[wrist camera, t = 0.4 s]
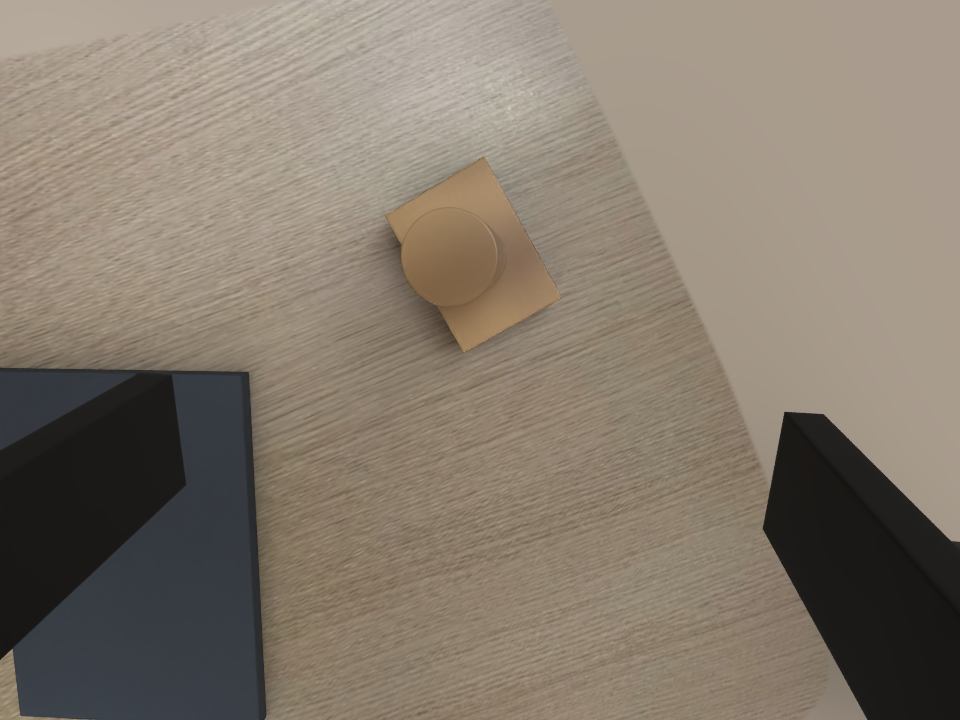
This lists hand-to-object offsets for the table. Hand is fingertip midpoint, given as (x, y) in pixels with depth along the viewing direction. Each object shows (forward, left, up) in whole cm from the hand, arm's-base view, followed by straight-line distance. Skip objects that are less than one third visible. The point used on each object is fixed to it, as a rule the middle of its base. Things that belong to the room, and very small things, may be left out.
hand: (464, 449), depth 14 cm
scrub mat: (+12, -20, -19) cm, 30 cm away
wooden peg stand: (-4, -1, -20) cm, 20 cm away
